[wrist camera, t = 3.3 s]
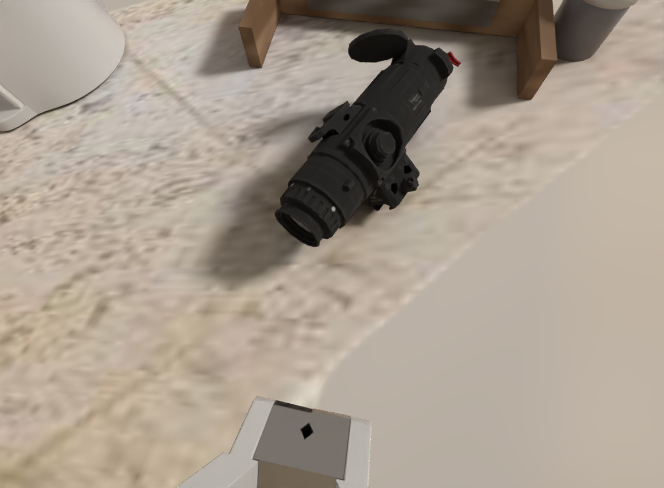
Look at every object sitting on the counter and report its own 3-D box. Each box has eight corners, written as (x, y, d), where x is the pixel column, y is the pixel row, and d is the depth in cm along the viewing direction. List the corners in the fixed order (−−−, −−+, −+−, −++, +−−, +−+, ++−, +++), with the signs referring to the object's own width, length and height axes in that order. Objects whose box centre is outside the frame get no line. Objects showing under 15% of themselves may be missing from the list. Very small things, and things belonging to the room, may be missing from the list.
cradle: (249, 66, 34) (238, 26, 30) (273, 4, 37) (265, -38, 33) (531, 99, 31) (557, 60, 27) (528, 30, 34) (551, -13, 31)
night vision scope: (310, 267, 28) (214, 178, 24) (416, 125, 34) (353, 33, 30) (369, 277, 21) (250, 156, 17) (489, 97, 27) (421, -26, 23)
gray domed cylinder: (541, 59, 33) (590, -21, 27) (539, 21, 35) (584, -62, 29) (601, 65, 32) (665, -15, 26) (595, 27, 34) (654, -57, 28)
